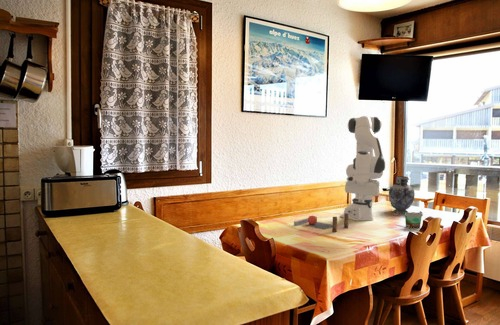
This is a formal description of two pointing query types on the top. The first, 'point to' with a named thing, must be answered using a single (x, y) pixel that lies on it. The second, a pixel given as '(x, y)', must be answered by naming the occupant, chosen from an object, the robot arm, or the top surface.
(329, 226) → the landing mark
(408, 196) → the decorative vase
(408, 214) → the food container
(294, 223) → the stopper wall
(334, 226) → the post
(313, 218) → the ball
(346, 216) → the post
